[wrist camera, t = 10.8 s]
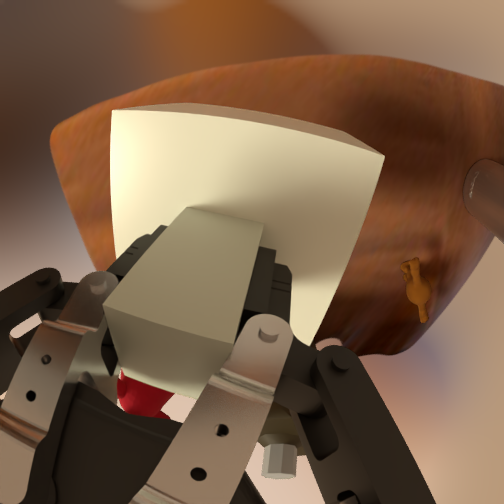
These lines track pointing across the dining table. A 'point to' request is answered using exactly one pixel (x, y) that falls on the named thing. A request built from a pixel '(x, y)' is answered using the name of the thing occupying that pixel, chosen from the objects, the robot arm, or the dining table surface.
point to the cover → (224, 228)
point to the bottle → (280, 442)
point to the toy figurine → (416, 286)
